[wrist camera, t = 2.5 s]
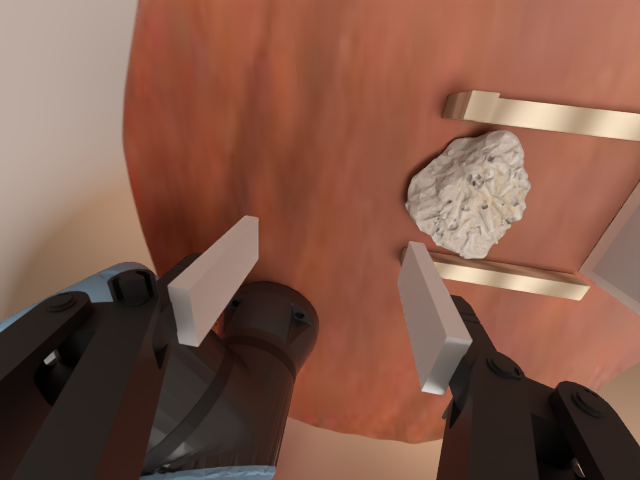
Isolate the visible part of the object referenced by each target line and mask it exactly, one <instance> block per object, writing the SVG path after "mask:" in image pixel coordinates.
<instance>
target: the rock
mask: <svg viewBox="0 0 640 480" xmlns="http://www.w3.org/2000/svg"><path fill="white" fill-rule="evenodd" d="M523 158H524V151H523V149H522V146H521V144H520V142H519V140H518V137H517V136H516V135H514V134H512V133H511V132H509V131H507V130H499V131H493V132H492V131H489V132H488V133H486V134H484V135H481V136H479V137H476V138H470V137H467V138H459V139H455V140H454V141H453V142H452V143H451V144H450V145H449V146H448V147H447V148H446V150H445V151H444V152H443V153H442V154H441V155H440V156H439V157H438V158H437V159H433V161H432V162H431V163H430V164H429V165H428V166H427V167H425V168H424V169H423V170H421V171H420V172H419V173H418V174H417V175H415V176H414V177H413V178H412V180H411V183H410V185H409V188H408V201H407V202H406V203H405V206H406V208H407V210H408V212H409V214H410V216H411V218H412V220H413V221H414V222H415V223H416V224H417V226H418V228H419V229H420V230H421V231H423V232H425V233H426V234H428V235H430V236H431V237H432V239H433V241H434V242H435V244H436V245H438V246H442V247H444V248H447V249H449V250H451V251H453V252H456V253H459V256H461V257H463V258H464V259H471V258H484V257H485V256H486V255H487V253H488V250H489V249H490V248H491V246H492V244H495V243H496V244H498V240H499V239H500V238H501V237H502V236H503V235H504V234H505V230H507V229H508V228H511V222H512V221H518V220H521V218H522V216H523V211H524V210H525V208H526V207H527V205H526V204H525V202H524V199H525V197H526V195H527V192H528V191H529V190H530V188H531V184H530V183H529V181H528V180H527V178H528V174H527V173H526V172H525V170H524V167H523V163H524V161H523Z"/></svg>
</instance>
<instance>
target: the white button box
mask: <svg viewBox="0 0 640 480" xmlns="http://www.w3.org/2000/svg"><path fill="white" fill-rule="evenodd" d="M578 272H580V273H581V274H583V275H584V276H585V277H587V278H588V279H590V280H591V281H592V282H594V283H595V284H596V285H598V286H599V287H601V288H602V289H603V290H605V291H606V292H608V293H609V294H610V295H612V296H613V297H614V298H616V299H617V300H619V301H620V302H621V303H623V304H624V305H626V306H627V307H628V308H630V309H631V310H632V311H634V312H635V313H637V314H638V315H639V316H640V182H639V183H638V185H637V186H636V187H635V189H634V190H633V192H632V193H631V195H630V196H629V198H628V199H627V201H626V202H625V204H624V205H623V206H622V208H621V209H620V211H619V212H618V214H617V215H616V217H615V218H614V220H613V221H612V223H611V224H610V225H609V227H608V228H607V230H606V231H605V233H604V234H603V236H602V237H601V239H600V240H599V242H598V243H597V244H596V246H595V247H594V249H593V250H592V252H591V253H590V255H589V256H588V258H587V259H586V261H585V262H584V263H583V265H582V266H581V268H580V269H579V271H578Z"/></svg>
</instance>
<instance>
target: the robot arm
mask: <svg viewBox="0 0 640 480" xmlns="http://www.w3.org/2000/svg"><path fill="white" fill-rule="evenodd" d="M257 260H258V217H253V216H246V215H245V216H244V217H243V218H242V219H241V220H240V221H239V222H237V223H236V224H235V225H234V226H233V227H232V228H231V229H230V230H229V231H227V232H226V233H225V234H224V235H223V236H222V237H221V238H220V239H219V240H217V241H216V242H215V243H214V244H213V245H212V246H211V247H210V248H209V249H207V250H206V251H205V252H204V253H203V254H202V253H194V254H191V255H189V256H187V257H185V258H184V259H182V260H181V261H180V262H179V263H177V265H175V266H174V267H173V268H171V270H169V271H168V272H167V273H165V274H164V275H163V276H162V277H161V278H158V277H157V276H156V275H155V274H154V273H153V272H152V271H151V270H150V269H148V268H147V267H145V266H144V265H142V264H140V263H135V262H124V263H119V264H117V265H114V266H112V267H109V268H107V269H105V270H103V271H100V272H98V273H96V274H94V275H92V276H90V277H88V278H86V279H84V280H82V281H80V282H78V283H76V284H74V285H72V286H70V287H68V288H65V289H63V290H62V291H59V292H57V293H56V294H54V295H51V296H50V297H47V298H46V299H44V300H42V301H40V302H38V303H36V304H34V305H32V306H30V307H28V308H26V309H24V310H22V311H20V312H18V313H16V314H14V315H12V316H11V317H8V318H7V319H5V320H3V321H1V322H0V480H272V477H273V475H274V474H275V473H276V466H277V461H278V456H279V451H280V447H281V443H282V438H283V434H284V429H285V424H286V420H287V415H288V411H289V406H290V402H291V397H292V393H293V388H294V383H295V379H296V376H297V374H298V372H299V371H300V369H301V367H302V366H303V364H304V363H305V361H306V360H307V358H308V356H309V355H310V353H311V352H312V350H313V348H314V346H315V344H316V341H317V335H318V330H319V321H318V317H317V314H316V312H315V310H314V308H313V307H312V306H311V304H310V303H309V302H308V301H307V300H306V299H305V298H304V297H303V296H302V295H300V294H299V293H297V292H296V291H294V290H292V289H290V288H288V287H286V286H283V285H280V284H275V283H269V282H258V283H252V284H248V285H246V286H243V287H241V288H240V289H238V288H239V287H240V285H241V284H242V282H243V281H244V279H245V278H246V276H247V275H248V274H249V272H250V271H251V269H252V268H253V266H254V265H255V263H256V262H257ZM397 285H398V289H399V294H400V298H401V302H402V307H403V311H404V316H405V320H406V325H407V329H408V333H409V338H410V342H411V347H412V351H413V356H414V360H415V364H416V369H417V373H418V378H419V382H420V387H421V391H424V392H429V393H434V394H439V395H444V393H445V391H446V389H447V387H448V386H450V389H451V392H452V395H453V398H452V400H451V401H450V403H449V405H448V407H447V409H446V410H445V412H444V414H443V416H442V418H443V419H444V420H445V419H446V417H447V419H446V425H445V431H444V437H443V443H442V449H441V455H440V461H439V467H438V473H437V479H436V480H640V446H639V445H638V443H637V442H636V440H635V439H634V437H633V436H632V435H631V433H630V432H629V430H628V429H627V427H626V426H625V424H624V423H623V422H622V420H621V419H620V417H619V416H618V414H617V413H616V412H615V410H613V408H612V407H611V406H610V405H609V404H608V403H607V402H606V401H605V400H604V399H602V398H601V397H600V396H599V395H598V394H596V393H595V392H593V391H591V390H590V389H588V388H586V387H584V386H582V385H580V384H577V383H575V382H569V381H563V382H560V383H559V384H558V385H557V386H556V387H555V389H553V388H550V387H548V386H546V385H543V384H541V383H539V382H536V381H534V380H532V379H529V378H527V377H525V375H524V372H523V371H522V370H521V368H520V367H519V366H518V365H517V364H516V363H515V362H514V361H513V360H511V359H510V358H509V357H507V356H505V355H504V354H502V353H500V352H497V350H496V349H495V347H494V345H493V343H492V342H491V340H490V338H489V337H488V335H487V333H486V331H485V330H484V328H483V326H482V324H480V321H479V319H478V318H477V316H476V314H475V312H474V311H473V309H472V307H471V306H470V305H469V304H468V303H467V302H466V301H465V300H464V299H463V298H462V297H460V296H455V295H449V293H448V291H447V289H446V287H445V285H444V283H443V281H442V279H441V277H440V275H439V273H438V271H437V269H436V267H435V265H434V263H433V261H432V259H431V257H430V255H429V253H428V251H427V249H426V247H425V245H424V243H419V242H413V241H409V244H408V248H407V251H406V254H405V257H404V261H403V264H402V267H401V271H400V274H399V277H398V280H397ZM222 311H223V312H222ZM221 313H222V315H221V320H220V324H219V329H218V334H216V333H215V332H214V331H213V330H212V329H211V327H212V326H213V324H214V323H215V322H216V320H217V319H218V317H219V316H220V314H221ZM578 463H579V465H580V467H581V469H582V471H583V473H584V475H583V474H582V472H581V470H580V468H579V466H578ZM584 476H585V477H584Z"/></svg>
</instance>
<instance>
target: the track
mask: <svg viewBox="0 0 640 480" xmlns="http://www.w3.org/2000/svg"><path fill="white" fill-rule="evenodd" d="M499 95H500V93H493V92H484V91H475V90H472V91H467V92H462V93H457V94H452V95H448V98H447V102H446V105H445V108H444V112H443V115H442V118H447V119H456V120H464V121H472V122H481V123H489V124H497V125H506V126H514V127H522V128H531V129H539V130H547V131H556V132H564V133H572V134H581V135H589V136H597V137H606V138H614V139H622V140H631V141H639V142H640V114H635V113H627V112H618V111H609V110H600V109H591V108H582V107H573V106H565V105H556V104H547V103H538V102H529V101H520V100H511V99H503V98H498V97H499ZM406 251H407V248H403V251H402V255H401V258H400V264H401V267H402V264H403V261H404V257H405V254H406ZM428 253H429V255H430V257H431V259H432V261H433V263H434V265H435V267H436V269H437V271H438V273H439V275H440V277H441V278H446V279H452V280H458V281H464V282H470V283H476V284H482V285H489V286H495V287H501V288H507V289H513V290H519V291H525V292H531V293H537V294H543V295H549V296H556V297H562V298H568V299H574V300H581V299H582V297H583V296H584V294H585V293H586V292H587V290H588V289H589V288H590V286H588V285H587V284H586V283H584V282H583V281H582V280H580V279H579V278H578V277H576V276H575V275H574V274H568V273H562V272H555V271H549V270H543V269H536V268H530V267H524V266H517V265H511V264H505V263H498V262H492V261H486V260H479V259H473V258H471V259H464V258H463V257H460V256H454V255H447V254H441V253H435V252H428Z"/></svg>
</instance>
